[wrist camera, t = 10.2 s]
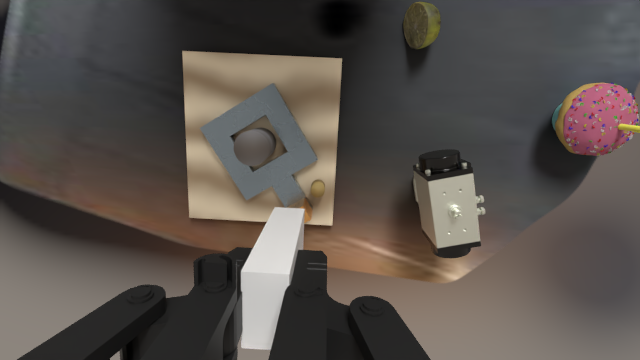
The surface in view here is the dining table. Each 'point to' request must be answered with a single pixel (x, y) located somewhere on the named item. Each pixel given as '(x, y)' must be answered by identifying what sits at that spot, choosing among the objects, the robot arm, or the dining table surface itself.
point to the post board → (233, 89)
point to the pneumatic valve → (447, 203)
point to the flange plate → (274, 171)
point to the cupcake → (596, 119)
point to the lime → (421, 24)
